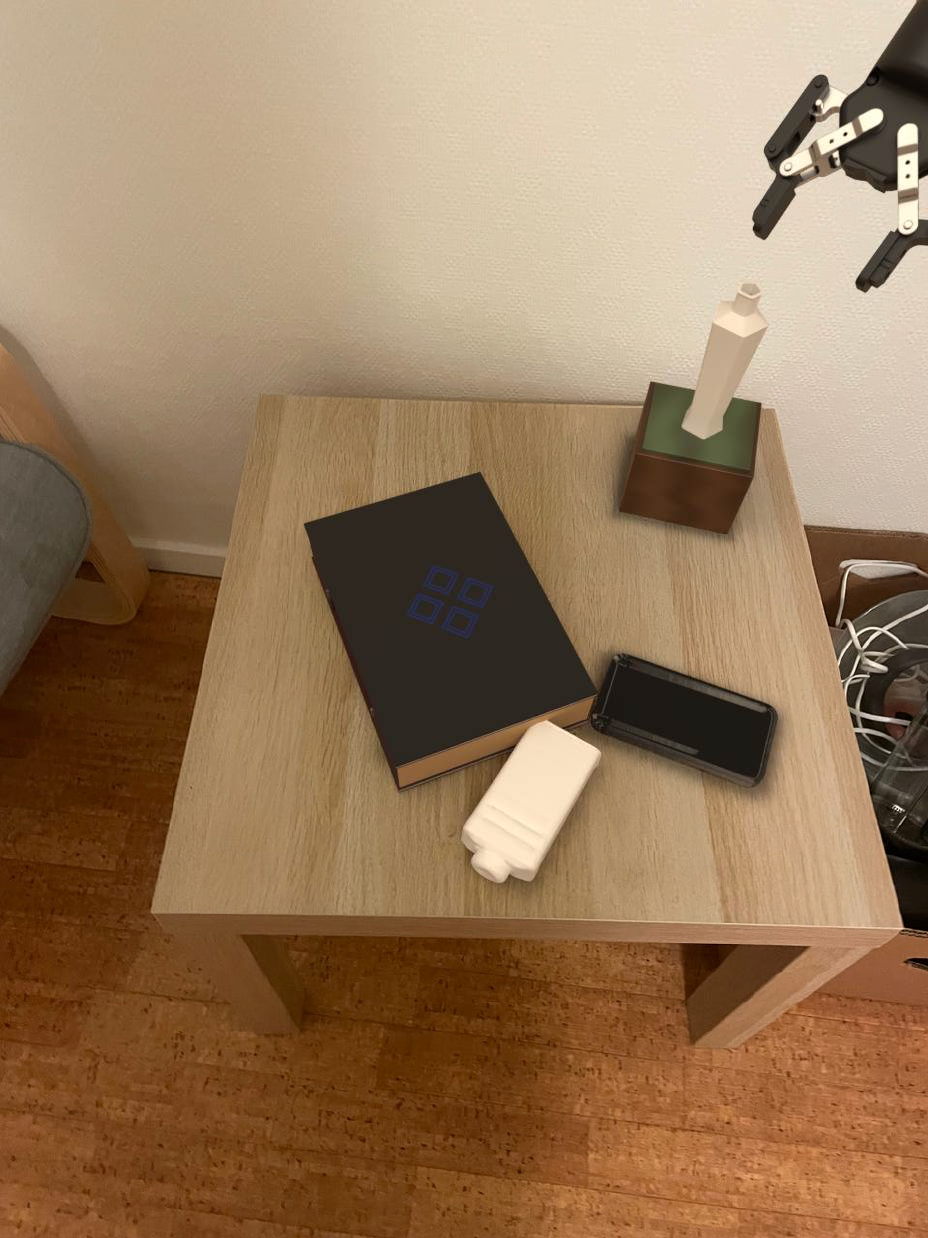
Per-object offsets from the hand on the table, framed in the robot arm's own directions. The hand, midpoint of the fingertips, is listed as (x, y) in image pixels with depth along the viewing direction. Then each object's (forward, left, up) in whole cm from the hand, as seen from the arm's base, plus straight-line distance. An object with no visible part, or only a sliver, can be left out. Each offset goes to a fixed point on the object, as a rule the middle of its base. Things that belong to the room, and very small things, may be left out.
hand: (807, 260), depth 61 cm
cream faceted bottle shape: (+3, -3, -21) cm, 21 cm away
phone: (-1, +23, -30) cm, 38 cm away
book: (+21, +21, -30) cm, 42 cm away
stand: (+3, -3, -30) cm, 30 cm away
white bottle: (+11, +35, -29) cm, 47 cm away
